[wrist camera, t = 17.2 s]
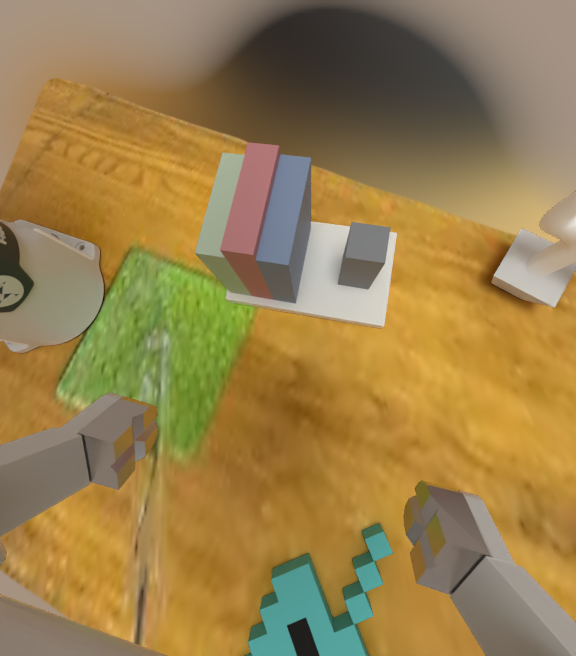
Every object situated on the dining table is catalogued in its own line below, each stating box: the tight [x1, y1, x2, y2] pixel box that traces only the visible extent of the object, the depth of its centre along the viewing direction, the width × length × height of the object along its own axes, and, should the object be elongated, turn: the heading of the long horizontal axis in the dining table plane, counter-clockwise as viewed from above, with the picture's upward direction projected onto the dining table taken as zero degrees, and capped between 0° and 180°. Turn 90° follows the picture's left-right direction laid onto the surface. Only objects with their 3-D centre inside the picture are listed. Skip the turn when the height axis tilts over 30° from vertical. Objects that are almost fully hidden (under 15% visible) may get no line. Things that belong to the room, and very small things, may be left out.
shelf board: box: [195, 143, 397, 329], centre depth 31 cm, size 21×13×14 cm, turn 79°
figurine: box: [491, 191, 576, 307], centre depth 28 cm, size 7×9×15 cm
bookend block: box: [338, 222, 391, 289], centre depth 32 cm, size 4×4×8 cm
